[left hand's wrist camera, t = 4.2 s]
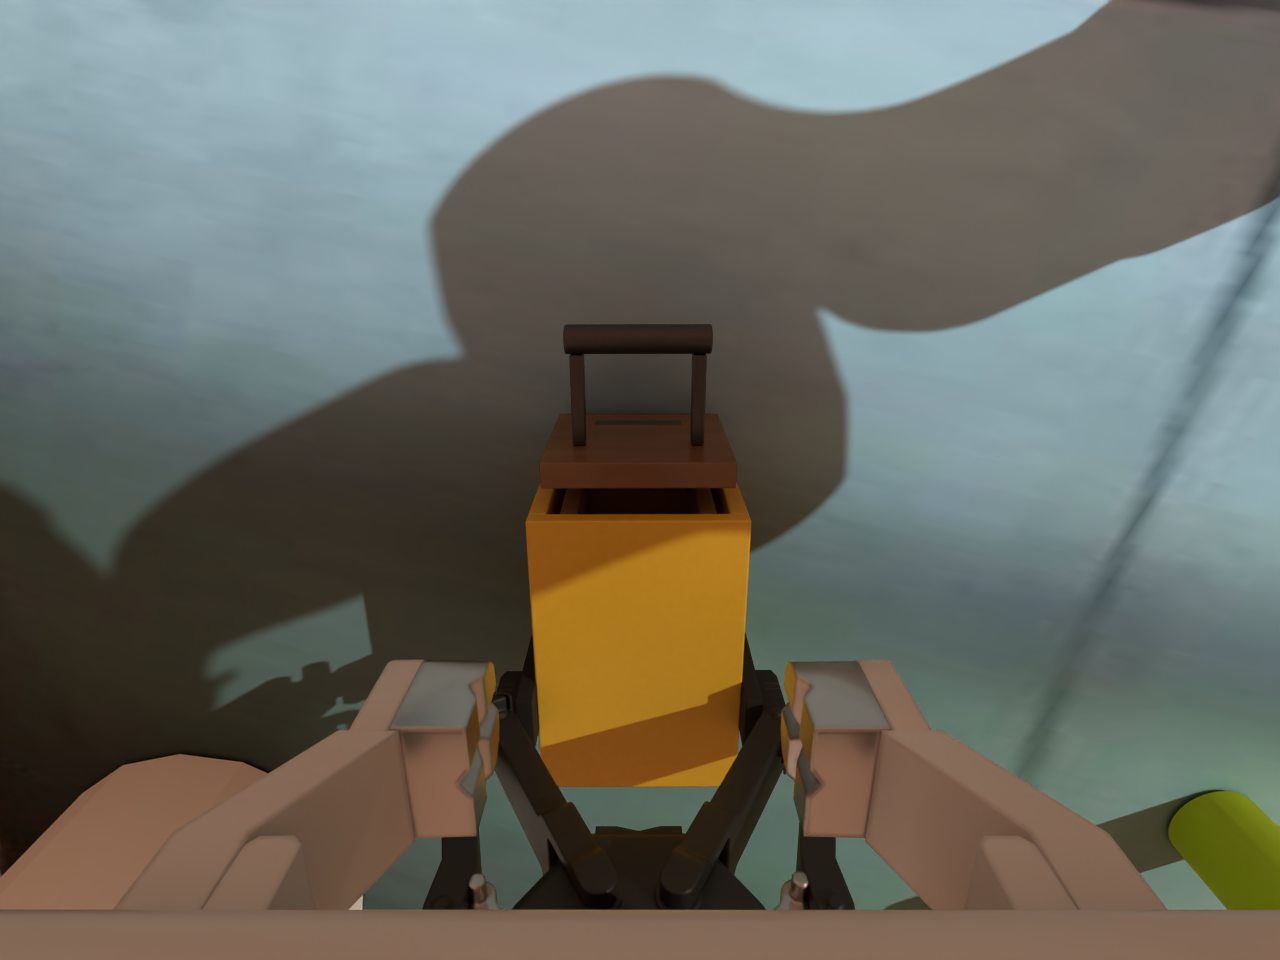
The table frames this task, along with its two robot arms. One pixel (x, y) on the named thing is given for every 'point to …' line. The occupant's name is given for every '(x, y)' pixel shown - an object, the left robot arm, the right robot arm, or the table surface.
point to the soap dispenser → (1231, 849)
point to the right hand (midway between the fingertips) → (638, 643)
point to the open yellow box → (638, 641)
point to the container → (119, 832)
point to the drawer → (638, 434)
